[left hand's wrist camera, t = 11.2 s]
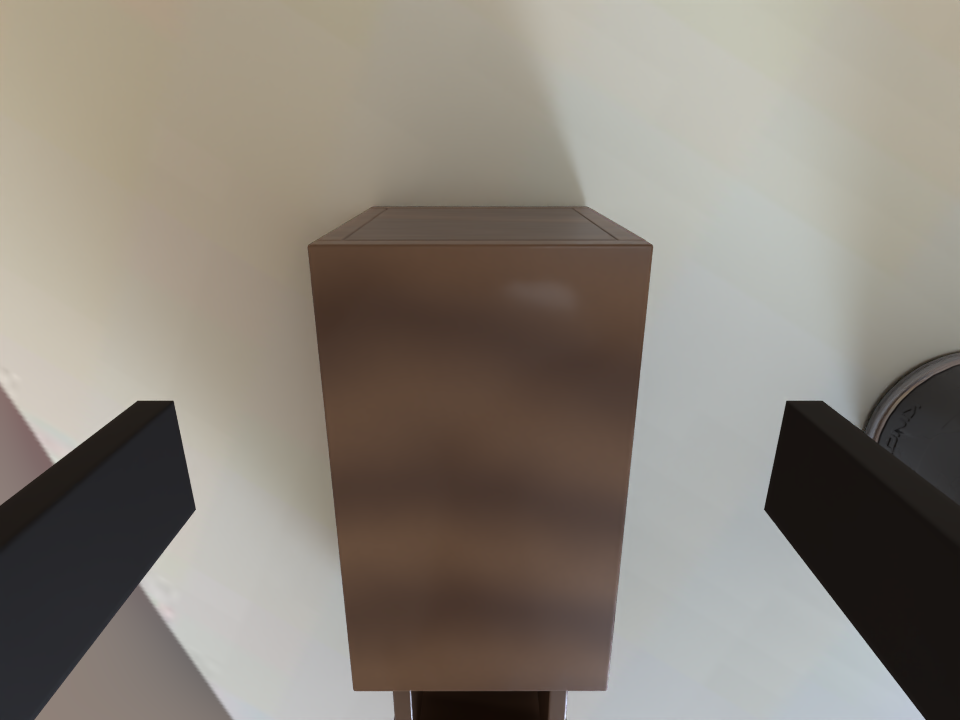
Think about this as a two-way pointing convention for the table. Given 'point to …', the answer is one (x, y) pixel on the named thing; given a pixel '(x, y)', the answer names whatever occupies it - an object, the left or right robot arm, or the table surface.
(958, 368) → the right robot arm
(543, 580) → the cabinet
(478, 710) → the drawer
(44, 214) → the table surface
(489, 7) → the table surface
